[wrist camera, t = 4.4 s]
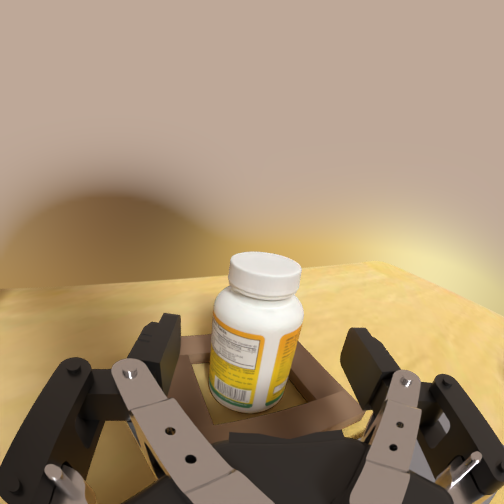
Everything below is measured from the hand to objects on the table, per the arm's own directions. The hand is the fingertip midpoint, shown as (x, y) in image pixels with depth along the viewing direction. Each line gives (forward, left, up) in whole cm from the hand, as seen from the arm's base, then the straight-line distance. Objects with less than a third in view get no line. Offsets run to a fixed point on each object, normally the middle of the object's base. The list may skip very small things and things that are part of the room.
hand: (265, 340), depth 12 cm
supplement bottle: (+1, +4, -7) cm, 8 cm away
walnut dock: (+1, +4, -7) cm, 8 cm away
